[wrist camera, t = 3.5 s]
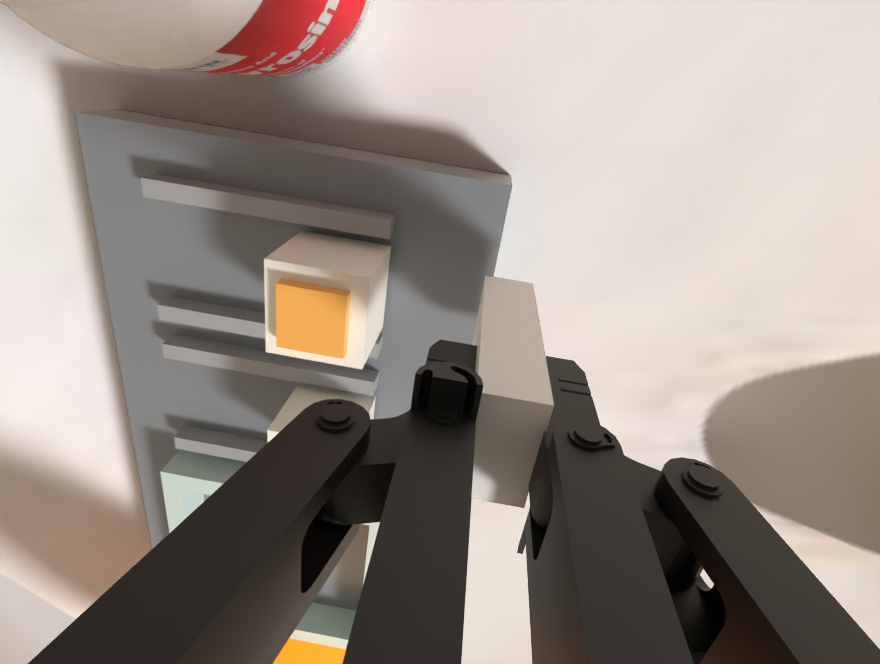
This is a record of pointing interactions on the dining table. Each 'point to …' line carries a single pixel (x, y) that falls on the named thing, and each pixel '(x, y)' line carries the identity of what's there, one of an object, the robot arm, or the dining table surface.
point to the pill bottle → (204, 32)
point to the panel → (243, 294)
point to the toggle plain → (311, 394)
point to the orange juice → (309, 653)
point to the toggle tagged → (325, 298)
